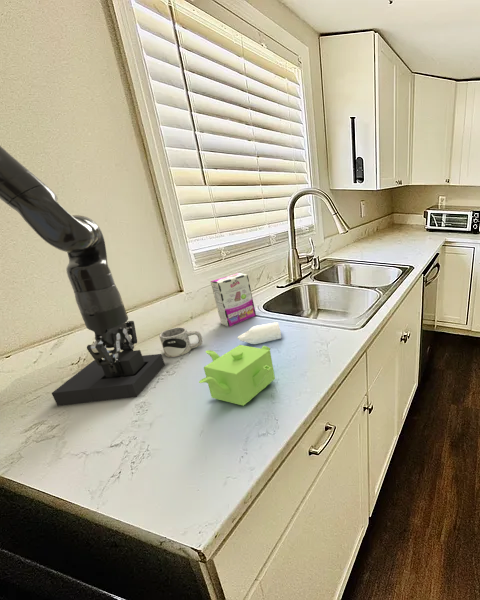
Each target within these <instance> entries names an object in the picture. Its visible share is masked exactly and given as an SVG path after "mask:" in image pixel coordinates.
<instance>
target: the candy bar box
mask: <svg viewBox="0 0 480 600" xmlns="http://www.w3.org/2000/svg"><path fill="white" fill-rule="evenodd" d="M210 284H211V289H212V292H213V297H214V301H215V304H216V308H217V313H218V317H219V320H220V324H221V325H222V326H225V327H228V328H231V327H233V326H234V325H237V324H239V323H242V322H244V321H247V320H250V319H251V318H254V317H257V314H256V307H255V303H254V299H253V294H252V289H251V285H250V279H249V274H248V273H245V272H244V273H243V272H238V273H234V274H231V275H227V276H223V277H220V278H216V279H213V280H210Z"/></svg>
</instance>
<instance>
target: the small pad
mask: <svg viewBox="0 0 480 600" xmlns="http://www.w3.org/2000/svg"><path fill="white" fill-rule="evenodd" d="M109 355H110V356H111V358H113V354H112V353H110V354H109ZM118 355H119V361H120V364H121V366H122V369H123V372H124V374H123V375H122V376H123V377H125V376H124V375H132V376H135V375H134V374H135V373H136V372H137V371H138V370H139V369H140V368H141V367H142V366H143V365H144V364H145V363H144V360H143V357H142V356H143V354H142V351H141V350H140V349H137V350H133V351H125V352H122V351H120V352H119V353H118ZM101 366H102V369H103V371H104V374H105V376H106V377H114V376H112V375H111V372H110V370H109V367H108V365H101Z"/></svg>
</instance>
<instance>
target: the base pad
mask: <svg viewBox="0 0 480 600" xmlns="http://www.w3.org/2000/svg"><path fill="white" fill-rule="evenodd" d="M142 357H143V360H144V363H145V364H144V365H143V366H142V367H141V368H140V369H139V370H138V371H137V372H136V373H135V374H134V375H124V376H116V377H106V376H105V374H104V371H103V369H102V366H99V365H98V364H97V363H96V361H95V360H94V359H93V360H92V361H91V362H90V363H88V364H87V365H85V366H84V367H83V368H82V369H80V370H79V371H78V372H77V373H76V374H74V375H73V376H72V377H70V378H69V379H67V380H66V381H65V382H64V383H62V384H61V385H60V386H59V387H57V388H56V389H55V390H53V391H52V392H51V395H52V398H53V400H54V402H55V405H57V407H62V406H70V405H80V404H87V403H88V404H89V403H96V402H104V401H114V400H121V399H122V400H123V399H131V398H137V397H138V396H139V395H140V394H141V393H142V392H144V390H145V389H146V387H148V385H149V384H150V383H152V381H153V380H154V378H155V377H156V376H157V375H158V374H159V373H160V371H161V370H162V369H163V368H164V367H165V366H166V365H165V364H166V363H165V361H164V358H163V354H162V353H155V354H145V355H142Z"/></svg>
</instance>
